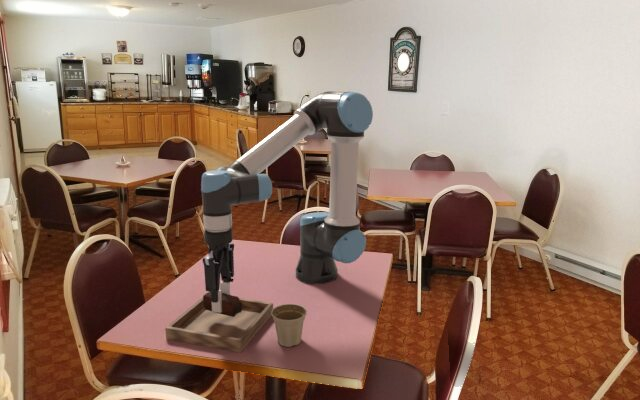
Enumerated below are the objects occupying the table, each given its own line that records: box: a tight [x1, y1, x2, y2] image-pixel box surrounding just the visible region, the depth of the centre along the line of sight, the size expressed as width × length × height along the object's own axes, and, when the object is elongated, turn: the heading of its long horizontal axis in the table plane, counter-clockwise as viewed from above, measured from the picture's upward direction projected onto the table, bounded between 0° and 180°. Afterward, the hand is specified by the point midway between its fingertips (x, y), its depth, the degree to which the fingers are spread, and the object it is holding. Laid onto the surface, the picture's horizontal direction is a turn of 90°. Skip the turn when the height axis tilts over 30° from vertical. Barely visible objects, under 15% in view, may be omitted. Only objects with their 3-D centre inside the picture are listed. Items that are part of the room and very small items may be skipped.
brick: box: [202, 291, 242, 317], centre depth 129 cm, size 11×4×5 cm, turn 66°
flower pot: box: [271, 303, 308, 348], centre depth 122 cm, size 9×9×9 cm
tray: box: [164, 297, 274, 353], centre depth 130 cm, size 22×22×3 cm
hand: (221, 307), depth 129 cm, fingers closed on brick, 4 cm apart
